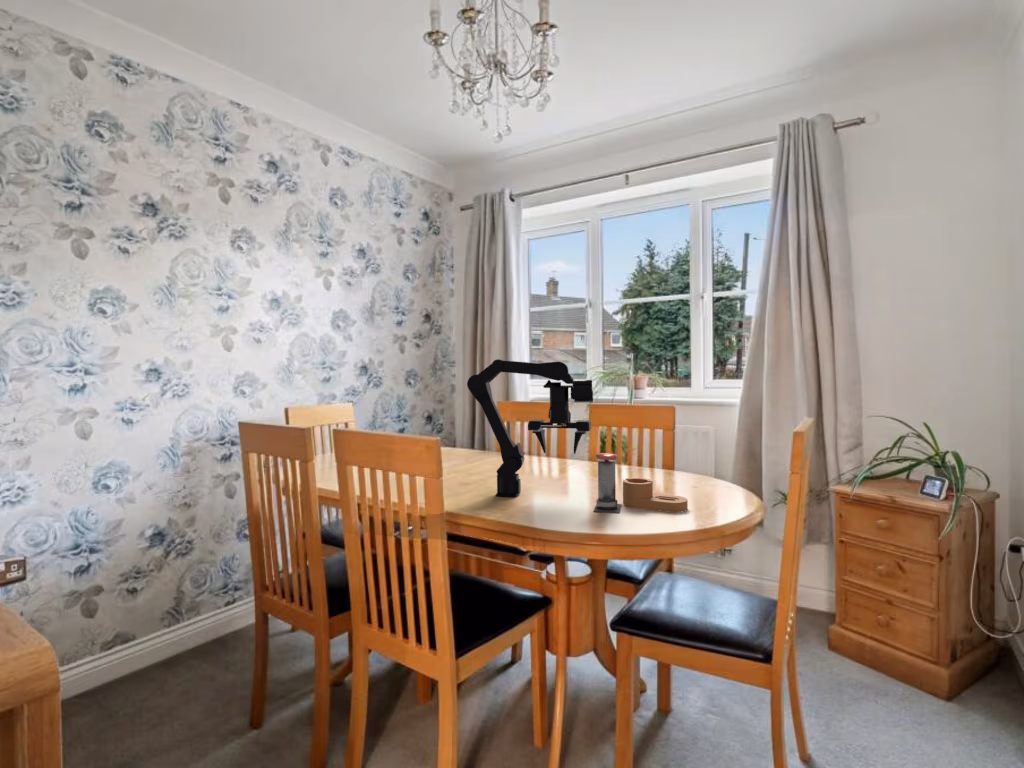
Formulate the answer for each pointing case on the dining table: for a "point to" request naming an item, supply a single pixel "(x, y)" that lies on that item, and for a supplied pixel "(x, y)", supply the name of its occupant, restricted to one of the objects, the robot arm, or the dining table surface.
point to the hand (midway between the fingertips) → (559, 453)
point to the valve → (606, 482)
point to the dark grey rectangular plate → (609, 510)
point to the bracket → (650, 497)
